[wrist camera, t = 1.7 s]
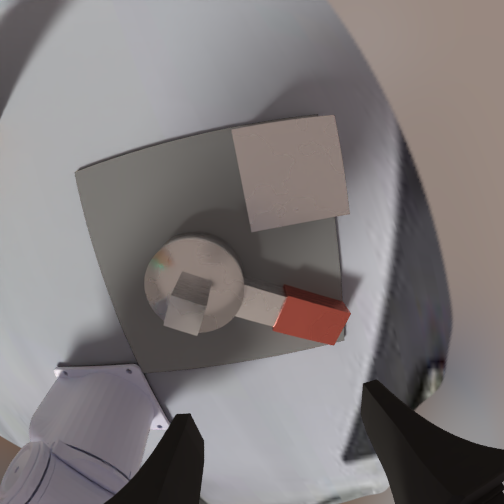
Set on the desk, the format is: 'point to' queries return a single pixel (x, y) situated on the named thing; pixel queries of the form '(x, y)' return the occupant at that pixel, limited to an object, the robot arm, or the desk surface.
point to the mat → (196, 220)
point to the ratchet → (231, 293)
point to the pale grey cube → (291, 171)
